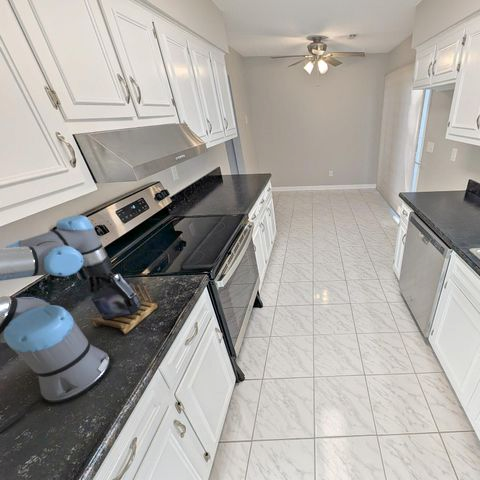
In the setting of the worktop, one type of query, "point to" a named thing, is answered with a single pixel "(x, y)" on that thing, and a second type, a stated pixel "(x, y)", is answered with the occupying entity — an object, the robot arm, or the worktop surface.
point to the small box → (112, 303)
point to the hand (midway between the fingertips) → (121, 309)
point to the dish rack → (136, 318)
